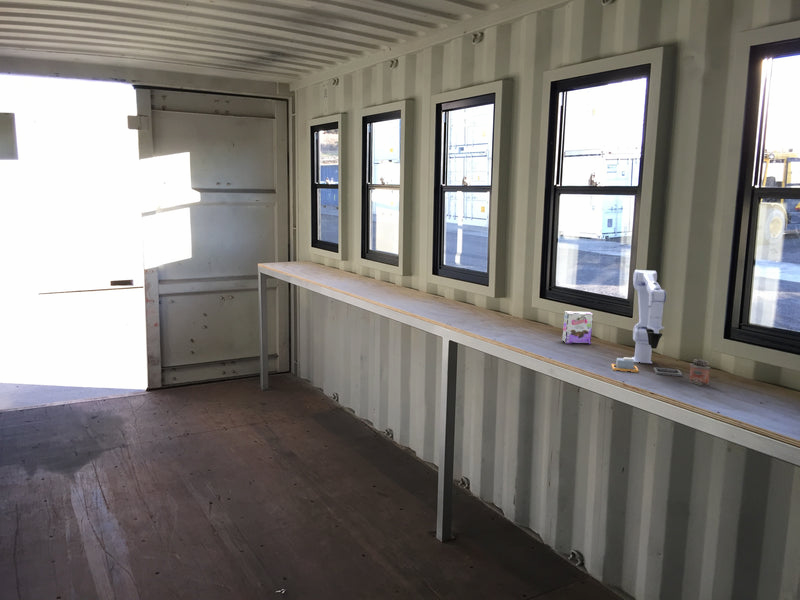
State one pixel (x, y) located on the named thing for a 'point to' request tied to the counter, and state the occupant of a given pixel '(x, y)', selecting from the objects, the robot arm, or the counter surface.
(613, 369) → the orange picture frame
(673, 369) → the open gray picture frame
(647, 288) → the robot arm
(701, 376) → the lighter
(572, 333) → the candy box
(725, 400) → the counter surface
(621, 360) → the plug
